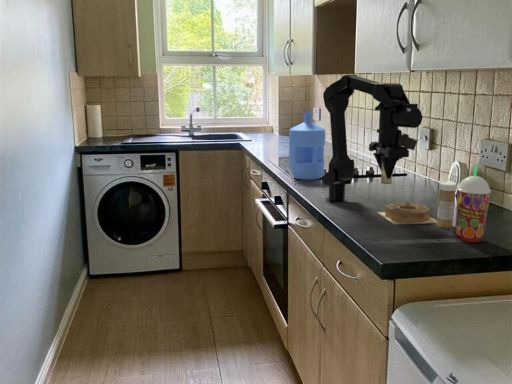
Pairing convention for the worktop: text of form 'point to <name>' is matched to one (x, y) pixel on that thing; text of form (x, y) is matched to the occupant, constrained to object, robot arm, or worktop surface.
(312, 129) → the water jug
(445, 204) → the sprinkles bottle
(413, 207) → the bead
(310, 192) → the worktop surface
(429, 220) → the board
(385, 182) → the cream banded cylinder
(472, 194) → the smoothie
